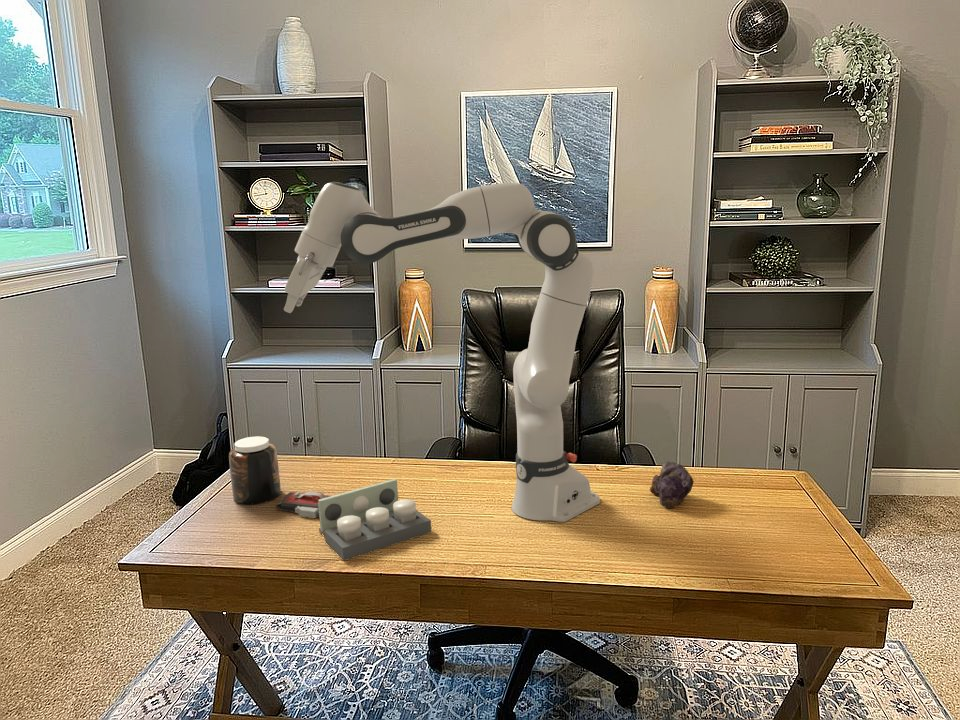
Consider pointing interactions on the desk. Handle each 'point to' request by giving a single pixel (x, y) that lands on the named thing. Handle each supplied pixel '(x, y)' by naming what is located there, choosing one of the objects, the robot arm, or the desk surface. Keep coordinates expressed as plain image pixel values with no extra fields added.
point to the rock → (672, 484)
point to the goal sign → (356, 503)
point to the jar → (254, 471)
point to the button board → (377, 536)
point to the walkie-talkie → (302, 503)
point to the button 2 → (404, 510)
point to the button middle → (377, 519)
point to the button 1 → (349, 527)
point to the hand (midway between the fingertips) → (292, 308)
